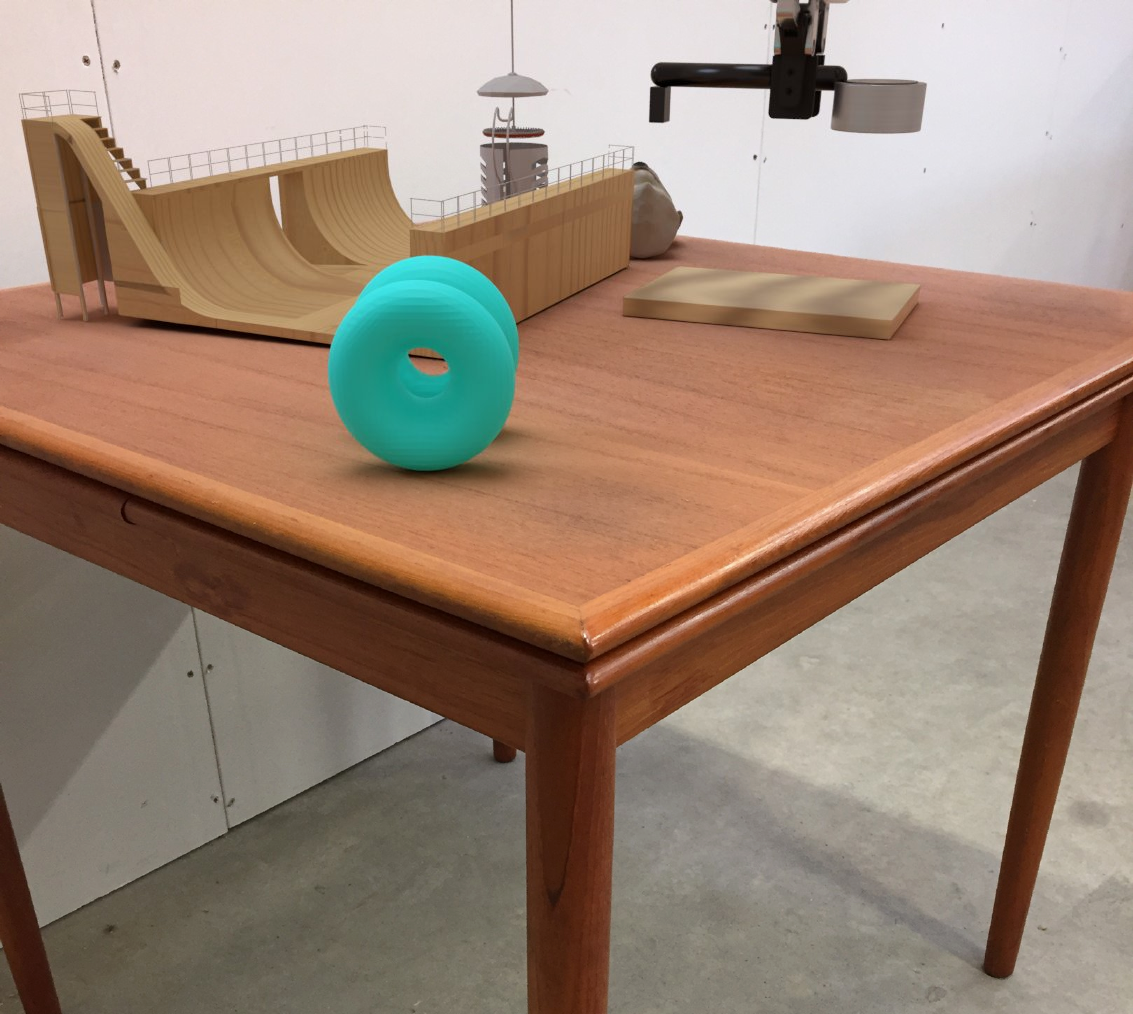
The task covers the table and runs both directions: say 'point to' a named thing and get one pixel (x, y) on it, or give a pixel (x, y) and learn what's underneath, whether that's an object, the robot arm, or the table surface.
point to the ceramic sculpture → (651, 214)
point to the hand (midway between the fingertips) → (793, 115)
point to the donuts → (405, 394)
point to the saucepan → (854, 100)
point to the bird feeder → (514, 154)
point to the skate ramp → (298, 233)
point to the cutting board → (775, 301)
